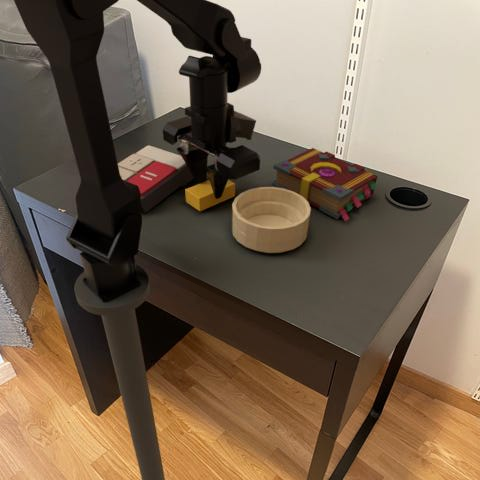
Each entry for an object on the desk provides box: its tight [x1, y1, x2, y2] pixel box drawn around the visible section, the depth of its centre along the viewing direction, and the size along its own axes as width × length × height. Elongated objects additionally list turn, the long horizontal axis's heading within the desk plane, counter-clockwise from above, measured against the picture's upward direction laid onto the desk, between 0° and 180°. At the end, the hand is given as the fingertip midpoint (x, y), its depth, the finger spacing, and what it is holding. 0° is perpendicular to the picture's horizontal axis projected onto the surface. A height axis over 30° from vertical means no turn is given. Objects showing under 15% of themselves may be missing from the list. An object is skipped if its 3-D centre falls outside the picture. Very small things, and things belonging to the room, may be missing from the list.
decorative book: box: [271, 147, 378, 222], centre depth 86 cm, size 11×16×5 cm
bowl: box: [231, 186, 312, 254], centre depth 77 cm, size 12×12×5 cm
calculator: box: [118, 144, 195, 214], centre depth 87 cm, size 11×4×15 cm
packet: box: [184, 179, 236, 212], centre depth 85 cm, size 8×4×2 cm, turn 131°
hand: (210, 193), depth 84 cm, fingers closed on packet, 4 cm apart
